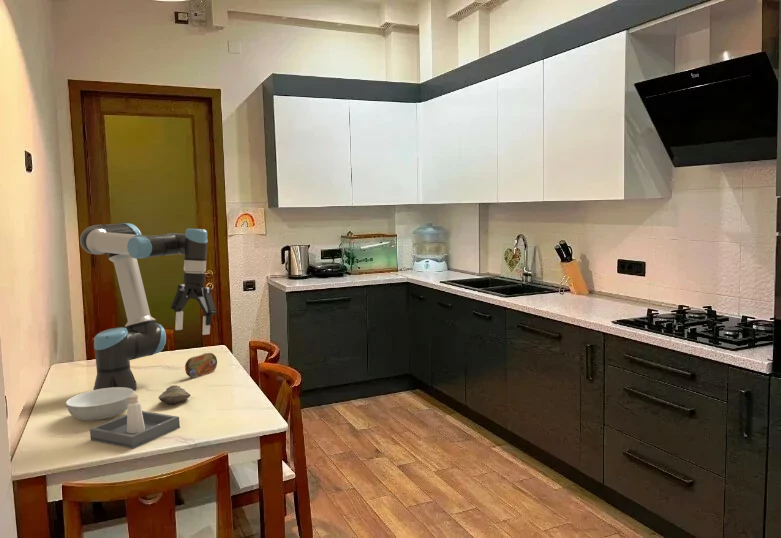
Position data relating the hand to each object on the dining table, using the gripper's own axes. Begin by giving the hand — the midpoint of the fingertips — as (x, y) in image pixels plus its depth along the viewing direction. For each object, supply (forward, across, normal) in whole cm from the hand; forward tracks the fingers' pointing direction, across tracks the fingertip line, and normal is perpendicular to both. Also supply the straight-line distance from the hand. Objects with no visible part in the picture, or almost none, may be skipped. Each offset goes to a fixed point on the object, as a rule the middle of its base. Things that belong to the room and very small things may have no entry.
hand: (192, 332), depth 222 cm
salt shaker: (+26, -10, +30) cm, 41 cm away
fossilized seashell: (+26, +3, +4) cm, 26 cm away
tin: (+23, +22, -27) cm, 41 cm away
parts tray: (+27, -10, +30) cm, 42 cm away
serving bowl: (+28, +15, +24) cm, 40 cm away
